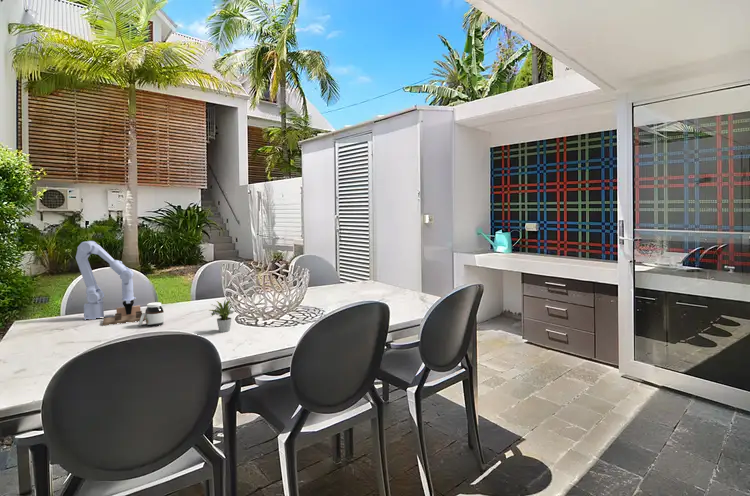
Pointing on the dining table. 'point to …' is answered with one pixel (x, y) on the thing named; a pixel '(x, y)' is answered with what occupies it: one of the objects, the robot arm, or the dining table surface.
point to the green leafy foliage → (225, 304)
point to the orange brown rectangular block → (123, 311)
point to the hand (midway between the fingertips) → (128, 313)
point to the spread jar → (153, 315)
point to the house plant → (223, 316)
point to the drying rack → (123, 318)
